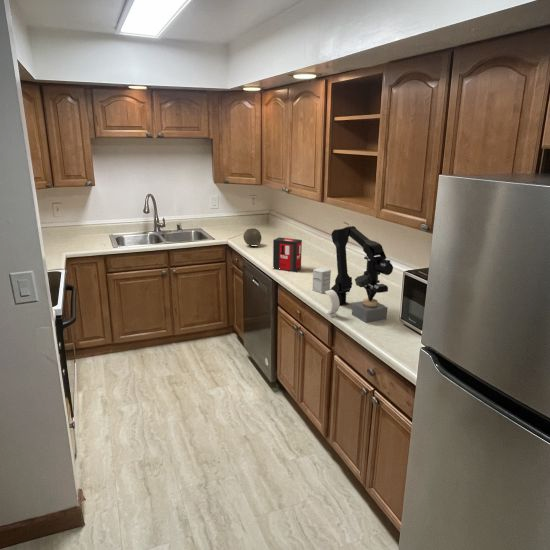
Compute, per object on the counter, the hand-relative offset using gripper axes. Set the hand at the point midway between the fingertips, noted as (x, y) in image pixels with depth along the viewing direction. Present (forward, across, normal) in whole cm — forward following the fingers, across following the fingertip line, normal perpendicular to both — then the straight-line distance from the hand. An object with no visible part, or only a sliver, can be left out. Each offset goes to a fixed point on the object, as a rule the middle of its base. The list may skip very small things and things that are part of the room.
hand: (370, 300), depth 217 cm
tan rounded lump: (+6, 0, 0) cm, 6 cm away
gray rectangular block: (+8, 0, 0) cm, 8 cm away
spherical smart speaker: (+9, -161, +1) cm, 161 cm away
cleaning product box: (+9, -92, -1) cm, 92 cm away
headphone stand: (+9, -9, -16) cm, 20 cm away
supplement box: (+9, -44, -2) cm, 45 cm away
